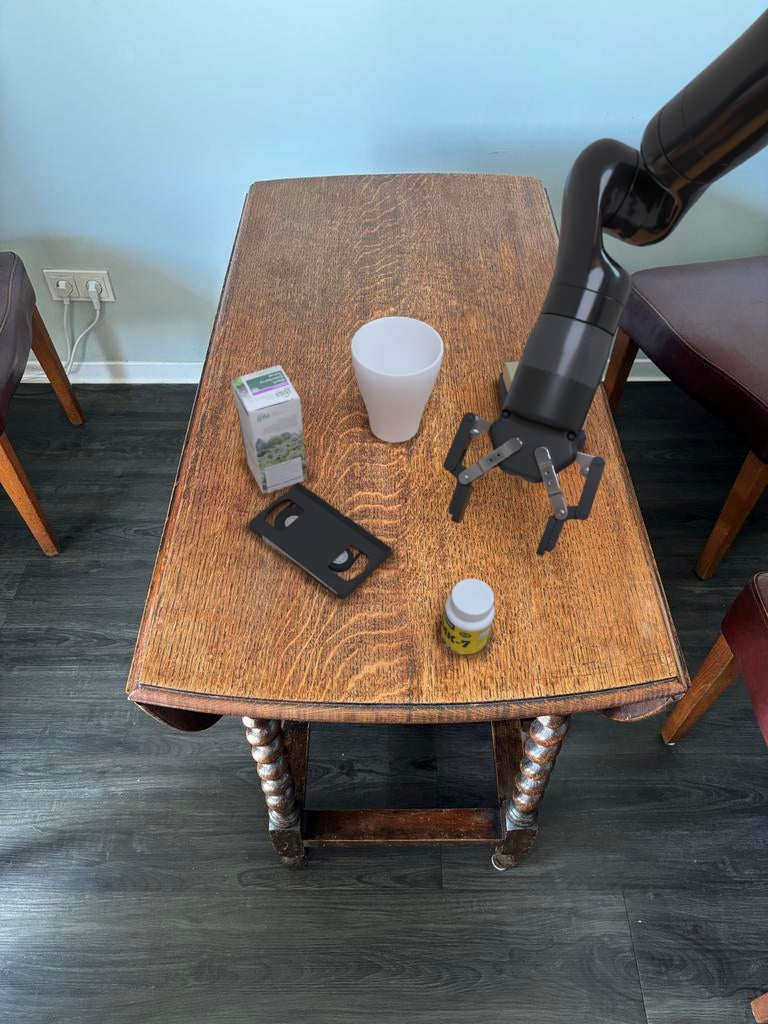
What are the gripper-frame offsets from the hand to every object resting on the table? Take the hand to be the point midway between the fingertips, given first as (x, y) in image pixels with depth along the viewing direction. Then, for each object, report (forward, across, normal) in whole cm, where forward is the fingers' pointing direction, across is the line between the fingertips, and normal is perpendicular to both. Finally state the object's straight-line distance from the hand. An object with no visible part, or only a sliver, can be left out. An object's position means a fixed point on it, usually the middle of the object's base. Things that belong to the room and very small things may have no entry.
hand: (497, 537), depth 69 cm
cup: (-5, -19, +20) cm, 28 cm away
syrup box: (+4, -28, +11) cm, 30 cm away
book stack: (-12, -3, +27) cm, 30 cm away
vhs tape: (+9, -19, +6) cm, 22 cm away
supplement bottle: (+12, 0, +3) cm, 12 cm away
